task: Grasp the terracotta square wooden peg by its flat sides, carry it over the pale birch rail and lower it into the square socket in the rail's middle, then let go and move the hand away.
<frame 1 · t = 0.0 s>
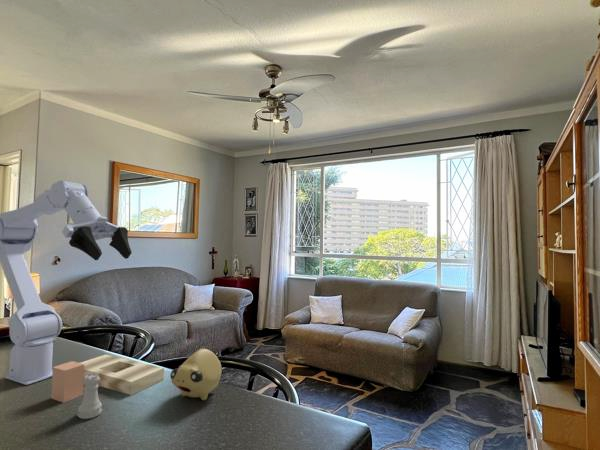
hand: (114, 256, 81), 32 cm above the table, tool tilted 50°, fingers open, 7 cm apart
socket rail: (116, 378, 91), on the table
rook chess piece: (89, 415, 73), on the table
square peg: (67, 396, 81), on the table
yellow toy creature: (195, 398, 82), on the table
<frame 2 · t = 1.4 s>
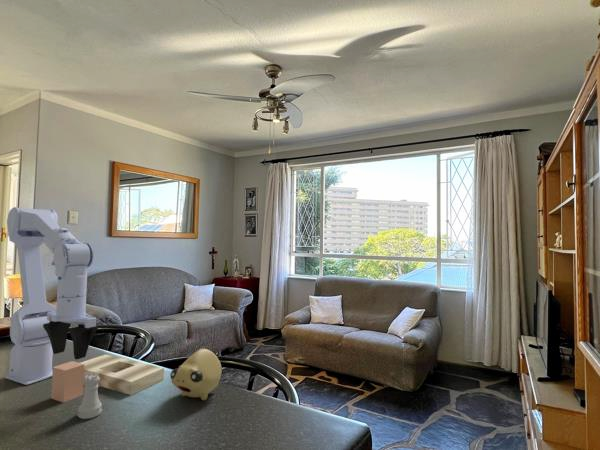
hand: (69, 355, 81), 9 cm above the table, tool pointing down, fingers open, 7 cm apart
nothing on the table moved.
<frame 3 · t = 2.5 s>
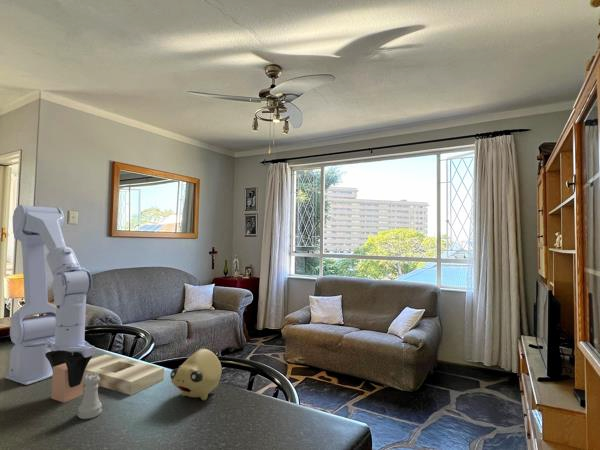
hand: (68, 383, 81), 3 cm above the table, tool pointing down, fingers closed on square peg, 4 cm apart
square peg: (67, 396, 81), on the table, touching gripper
everything else where it was.
when the fingers open (4 cm above the table, at t = 7.5 s): square peg stays where it is, resting in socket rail.
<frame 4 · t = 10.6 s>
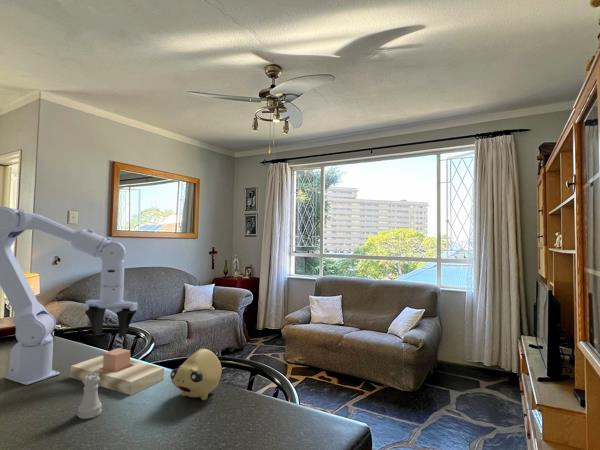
hand: (110, 335, 97), 9 cm above the table, tool pointing down, fingers open, 7 cm apart
square peg: (116, 379, 91), resting in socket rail
everything else where it was.
at the end: square peg 0.2 cm off-centre on the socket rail, point 0.0 cm above the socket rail's base; square peg tilted 0°; the gripper is holding nothing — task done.
